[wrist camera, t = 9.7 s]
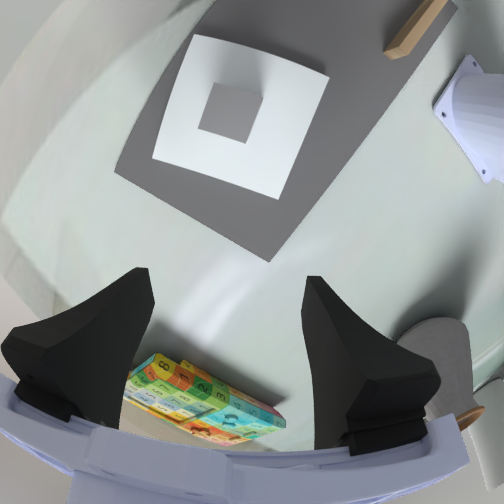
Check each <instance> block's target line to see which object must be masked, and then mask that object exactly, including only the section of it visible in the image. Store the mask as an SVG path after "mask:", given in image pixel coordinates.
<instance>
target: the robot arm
mask: <svg viewBox="0 0 504 504" xmlns="http://www.w3.org/2000/svg"><path fill="white" fill-rule="evenodd" d="M473 63H474V65H473ZM433 110H434V113H435V114H436V115H437V117H438V118H439V119H440V120H441V121H442V123H443V124H444V125H445V126H446V128H447V129H448V130H449V132H450V133H451V134H452V135H453V137H454V138H455V139H456V141H457V142H458V144H459V145H460V146H461V148H462V149H463V151H464V152H465V153H466V155H467V156H468V158H469V159H470V161H471V162H472V164H473V165H474V167H475V168H476V170H477V172H478V173H479V175H480V177H481V178H482V180H483V182H484V183H486V184H488V183H489V182H490V181H491V179H492V178H495V179H497V180H499V181H501V182H503V183H504V74H486V73H485V72H484V71H483V70H482V68H481V67H480V65H479V64H478V63H477V61H476V60H475V59H474V57H473V56H472V55H470V54H468V55H466V56H465V58H464V59H463V61H462V63H461V64H460V66H459V67H458V69H457V71H456V72H455V74H454V76H453V77H452V79H451V80H450V82H449V83H448V85H447V87H446V88H445V90H444V91H443V93H442V94H441V96H440V97H439V99H438V100H437V102H436V103H435V105H434V107H433ZM442 112H443V113H444V116H442ZM482 171H483V172H482ZM154 305H155V301H154V296H153V292H152V287H151V282H150V277H149V271H148V268H139V267H136V268H134V269H132V270H131V271H129V272H128V273H126V274H125V275H123V276H122V277H120V278H119V279H117V280H116V281H115V282H113V283H112V284H110V285H109V286H107V287H106V288H104V289H103V290H101V291H100V292H98V293H97V294H95V295H94V296H92V297H91V298H89V299H87V300H86V301H84V302H82V303H80V304H78V305H77V306H75V307H73V308H71V309H69V310H66V311H64V312H62V313H60V314H57V315H55V316H53V317H50V318H47V319H44V320H41V321H38V322H35V323H32V324H28V325H24V326H19V327H14V328H13V329H12V330H11V332H10V333H9V334H8V336H7V337H6V339H5V340H4V341H3V343H2V344H1V352H2V354H3V356H4V358H5V360H6V361H7V363H8V364H9V365H10V367H11V368H12V369H13V371H14V372H15V373H16V375H17V376H18V377H19V379H20V381H19V383H18V384H17V383H15V382H14V381H13V380H12V379H10V378H8V377H6V376H5V375H3V374H1V373H0V432H1V433H3V434H4V435H5V436H6V437H7V438H8V439H10V440H11V441H13V442H14V443H15V444H17V445H18V446H20V447H21V448H23V449H25V450H26V451H27V452H29V453H31V454H32V455H34V456H36V457H37V458H39V459H40V460H42V461H44V462H45V463H47V464H49V465H51V466H52V467H54V468H56V469H58V470H60V471H61V472H63V473H65V474H67V475H69V476H71V477H73V480H72V484H71V487H70V491H69V494H68V498H67V502H66V504H379V503H382V502H386V501H389V500H392V499H395V498H398V497H401V496H404V495H407V494H410V493H412V492H415V491H418V490H420V489H423V488H425V487H428V486H430V485H433V484H435V483H437V482H439V481H440V480H442V479H444V478H446V477H448V476H449V475H451V474H453V473H454V472H456V471H458V470H459V469H461V468H463V467H464V466H465V465H467V464H469V462H470V459H469V456H468V453H467V450H466V447H465V444H464V441H463V438H462V435H461V432H460V430H459V427H458V424H457V422H456V419H455V416H454V414H452V413H451V414H448V415H446V416H443V417H440V418H436V419H434V420H431V421H429V422H427V423H426V424H425V422H424V419H423V417H425V416H426V411H425V408H424V407H425V405H426V404H427V403H428V402H429V401H430V400H431V399H432V397H433V396H434V395H435V394H436V392H437V391H438V390H439V388H440V385H441V377H440V375H439V373H438V371H437V369H436V367H435V365H434V363H433V361H432V360H430V359H428V358H425V357H423V356H420V355H418V354H416V353H413V352H411V351H409V350H407V349H405V348H403V347H402V346H400V345H398V344H396V343H394V342H393V341H391V340H390V339H388V338H387V337H385V336H383V335H382V334H380V333H379V332H378V331H376V330H375V329H374V328H372V327H371V326H370V325H368V324H367V323H366V322H365V321H363V320H362V319H361V318H360V317H359V316H358V315H357V314H356V313H355V312H354V311H352V310H351V309H350V308H349V307H348V306H347V305H346V304H345V303H344V302H343V301H342V299H341V298H340V297H339V296H338V295H337V294H336V293H335V292H334V291H333V290H332V288H331V287H330V286H329V285H328V284H327V283H326V282H325V280H324V279H323V278H322V277H321V276H307V280H306V286H305V292H304V298H303V303H302V309H301V318H302V329H303V335H304V340H305V344H306V349H307V354H308V359H309V363H310V368H311V374H312V383H313V397H314V425H315V441H314V450H309V451H291V452H249V451H231V450H219V449H209V448H201V447H197V446H192V445H185V444H179V443H173V442H168V441H162V440H157V439H153V438H148V437H144V436H140V435H136V434H132V433H128V432H124V431H121V430H119V419H120V412H121V406H122V400H123V395H124V391H125V386H126V382H127V378H128V374H129V370H130V367H131V364H132V361H133V358H134V356H135V353H136V351H137V349H138V346H139V344H140V342H141V340H142V337H143V335H144V333H145V331H146V328H147V326H148V324H149V321H150V318H151V315H152V312H153V308H154Z"/></svg>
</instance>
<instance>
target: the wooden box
mask: <svg viewBox="0 0 504 504" xmlns="http://www.w3.org/2000/svg"><path fill="white" fill-rule="evenodd" d="M447 1H448V0H424V1H423V2H422V4H421V5H420V6H419V7H418V9H417V10H416V11H415V12H414V14H413V15H412V16H411V17H410V19H409V20H408V21H407V22H406V24H405V25H404V26H403V28H402V29H401V30H400V31H399V33H398V34H397V35H396V37H395V38H394V39H393V40H392V42H391V43H390V44H389V46H388V47H387V48H386V49H385V51H384V52H383V53H384V54H385V55H386V56H387V57H388V58H389V59H390V60H393V59H396V58H400V57H403V56H407V55H409V53H410V52H411V50H412V49H413V48H414V46H415V45H416V44H417V42H418V41H419V40H420V38H421V37H422V35H423V34H424V33H425V31H426V30H427V29H428V27H429V26H430V24H431V23H432V22H433V20H434V19H435V18H436V16H437V15H438V13H439V12H440V11H441V9H442V8H443V7H444V5H445V4H446V2H447Z"/></svg>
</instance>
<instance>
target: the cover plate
mask: <svg viewBox="0 0 504 504" xmlns="http://www.w3.org/2000/svg"><path fill="white" fill-rule="evenodd" d="M329 78H330V77H327V76H325V75H323V74H321V73H318V72H316V71H314V70H312V69H309V68H307V67H304V66H302V65H299V64H297V63H294V62H292V61H289V60H286V59H284V58H281V57H278V56H275V55H272V54H269V53H266V52H263V51H260V50H257V49H254V48H250V47H247V46H243V45H240V44H236V43H232V42H228V41H224V40H220V39H216V38H211V37H206V36H201V35H196V34H194V36H193V38H192V40H191V43H190V45H189V47H188V50H187V52H186V55H185V57H184V60H183V62H182V65H181V67H180V70H179V73H178V75H177V78H176V81H175V84H174V87H173V89H172V92H171V95H170V98H169V101H168V104H167V107H166V111H165V114H164V117H163V120H162V124H161V127H160V131H159V134H158V138H157V141H156V145H155V149H154V153H153V156H152V158H153V159H156V160H160V161H163V162H166V163H170V164H173V165H176V166H180V167H183V168H186V169H189V170H193V171H196V172H199V173H202V174H205V175H208V176H211V177H214V178H217V179H220V180H223V181H226V182H229V183H232V184H235V185H238V186H241V187H244V188H247V189H250V190H252V191H255V192H258V193H261V194H264V195H266V196H269V197H272V198H275V199H277V200H278V199H279V197H280V194H281V192H282V190H283V187H284V185H285V183H286V180H287V178H288V175H289V173H290V171H291V168H292V166H293V164H294V161H295V159H296V156H297V154H298V152H299V149H300V147H301V145H302V142H303V140H304V137H305V135H306V133H307V130H308V128H309V126H310V123H311V121H312V118H313V116H314V114H315V111H316V109H317V106H318V104H319V102H320V99H321V97H322V95H323V92H324V90H325V87H326V85H327V83H328V80H329Z"/></svg>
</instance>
